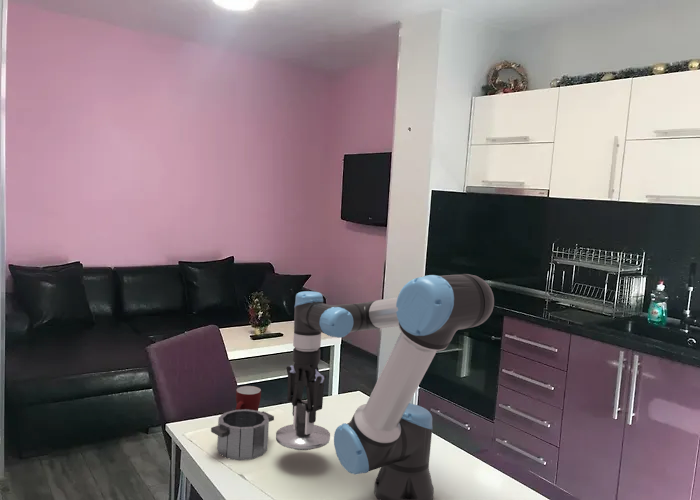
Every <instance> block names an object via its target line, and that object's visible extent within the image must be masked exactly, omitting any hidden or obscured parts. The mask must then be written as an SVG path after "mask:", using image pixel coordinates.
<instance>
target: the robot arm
mask: <svg viewBox="0 0 700 500" xmlns="http://www.w3.org/2000/svg"><path fill="white" fill-rule="evenodd" d="M323 297H324V296H323V294H322V293H321V292H318V291H312V290H311V291H309V290H308V291H307V290H306V291H300V292H298V293H296V294H295V302H294V316H293V317H294V319H293V320H294V321H293V329H294V330H293V342H292V346H293V349H292V361H293V365H289V366H286V373H287V395H286V397H287V399H286V400H287V401H288V402H290V403H291V405H292V416H293V429H294V430H296V423H297V402H298V401H300V400H303V399H302V398H303V394H304V388H305V391H306V400H307V403H308V410H306V417H305V434H306V435H308V434H310V433H313V432H314V425H315V423H316V419H317V411H320V410H322V409H323V403H324V388H325V383H326V380H327V376H326V374H321V373H320V370H319V369H320V368H319V363H320V362H321V349H320V348H321V342H322V334H325V335H326V336H328V337H331V338H338V339H340V338H345V337H346V336H347V335H348V334H351V333H355V332H361V331H368V330H369V331H371V330H380V329H387V328H395V327H398V329H399V331H400V333H399V336H398V338H397V340H396V341H395V344H394V346H393V348H392V350H391V352H390V355H389V356H388V358H387V360H386V362H385V365H384V366H383V369H382V370H381V373H380V374H379V377H378V378H377V381H376V383H375V385H374V387H373V389H372V391H371V393H370V396H369V398H368V400H367V402H366V403H365V404H361V405H360V406H358V407H356V409H355V412H354V414H353V416H352V418H351V419H350V421H349V422H348V423H342V424H341V425H338V426H337V427H336V429H335V431H334V435H333V445H334V450H335V454H336V456H337V459H338V460H339V463H340V464H341V466H342V468H343V469H344V470H345V471H346V472H348V473H350V474H353V475H360V474H368V473H369V472H371V471H375V470H377V469H379V471H378V473H377V476H376V478H375V481H374V486H373V487H374V489H373V492H374V496H375V497H376V498H377V500H434V494H435V493H434V492H435V490H434V485H433V480H432V477H431V471H430V457H431V456H430V455H431V444H432V435H433V434H432V433H433V429H434V428H433V416H432V413H431V412H430V411H429V410H428V409H427V408H426V407H422V406H421V405H418V404H414V403H411V402H412V399H413V397H414V395H415V394H416V392H417V389H418V387H419V385H420V384H421V382H422V380H423V378H424V376H425V374H426V372H427V371H428V369H429V367H430V365H431V363H432V361H433V360H434V357H435V356H436V353H437V352H439V351H444V350H446V349H447V348H448V347H449V345H450V343H451V341H452V340H453V337H454V336H455V334H456V332H457V331H458V330H465V329H470V328H474V327H478V326H480V325H482V324H484V323H485V322H486V321H487V320H488V319H489V318H490V316H491V315H492V313H493V309H494V306H495V297H494V293H493V291H492V288H491V287H490V285H489V284H488V283H487V282H486V281H485V280H484V279H483V278H481V277H479V276H477V275H473V274H469V273H461V274H450V275H449V274H448V275H436V274H429V275H424V276H420V277H415V278H413V279H411V280H409V281H408V282H406V283H405V284H404V285H403V287H402V288H401V290H400V291H399V294H398V296H394V297H389V298H384V299H377V300H373V301H372V300H370V301H366V302H356V303H345V304H327V303H324V298H323Z"/></svg>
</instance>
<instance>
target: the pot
mask: <svg viewBox="0 0 700 500" xmlns="http://www.w3.org/2000/svg"><path fill="white" fill-rule="evenodd" d="M217 420H218V421H217V422H218V423H217V425H215V426H213V427H211V428H210V432H211V433H212V434H214V435H216V436H217V441H216V442H217V443H216V445H217V447H216V448H217V453H218V455H220V454H221V455H220V456H222V455H223V456H222V457H224V458H225V457H226V458H225V459H228V458H230V460H234V459H235V461H245V460H254V459H256V458H258V457H262V456H263V455H264V454H266V452H267V451H268V444H269V429H270V428H269V427H270V426H269V424H270V423H269V422H272V421H275V415H272V414H270V413H268V412H266V411H259V410H258V411H255V410H248V409H247V410H246V409H243V410H236V409H233V410H229V411H226V412H223V413H222V414H221V415H220V416H219V417H218V419H217Z"/></svg>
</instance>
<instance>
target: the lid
mask: <svg viewBox="0 0 700 500" xmlns="http://www.w3.org/2000/svg"><path fill="white" fill-rule="evenodd" d="M306 410H308V403H307V399H301V400H300V401H298V402H297V423H296V430H294V429H293V424H288V425H285V426H283V427H280V428H279V429H278V430H276V432H275V441H276V442H277V443H278V444H279V445H281V446H282V447H285V448H288V449H292V450H294V451H295V450H296V451H311V450H315V449H320V448H322V447H325V446H326V445H328V444H329V443H330V440H331V433H330V431H329V430H328V429H327V428H325V427H322V426H320V425H316V424H314V432H313V433H310V434H308V435H306V434H305V417H306Z"/></svg>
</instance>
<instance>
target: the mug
mask: <svg viewBox="0 0 700 500" xmlns="http://www.w3.org/2000/svg"><path fill="white" fill-rule="evenodd" d="M261 399H262V390H261V388H260V387H257V386H253V385H252V386H251V385H244V386H240V387H237V388H236V390H235V402H236V403H235V404H236V406H235V410H243V409H246V410H247V409H248V410H255V411H259V408H260V404H261Z"/></svg>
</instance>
